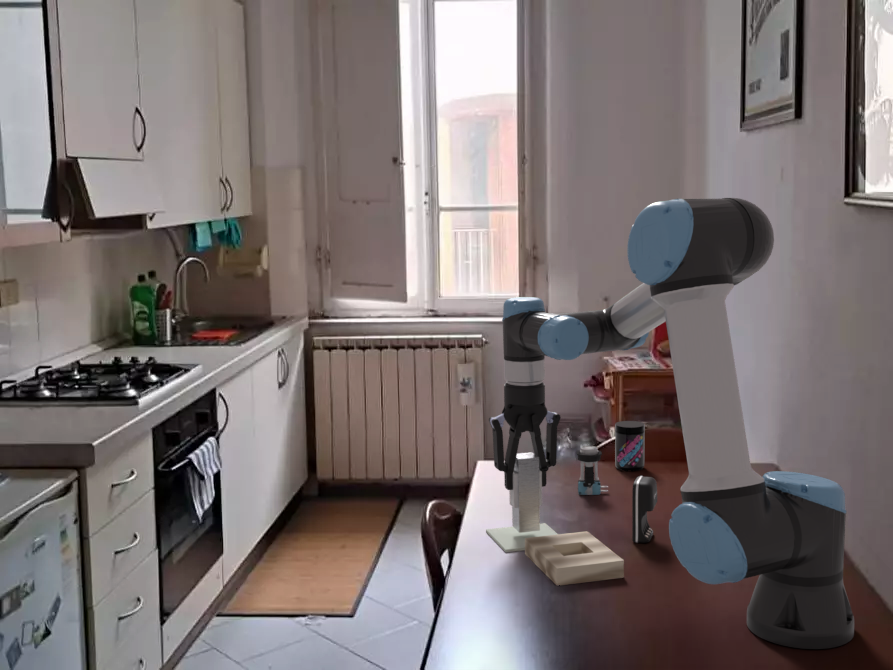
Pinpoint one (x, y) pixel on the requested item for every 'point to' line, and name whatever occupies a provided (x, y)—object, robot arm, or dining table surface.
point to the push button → (589, 471)
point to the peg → (527, 493)
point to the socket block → (574, 558)
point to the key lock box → (643, 507)
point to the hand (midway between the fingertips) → (525, 504)
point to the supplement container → (629, 445)
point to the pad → (516, 537)
